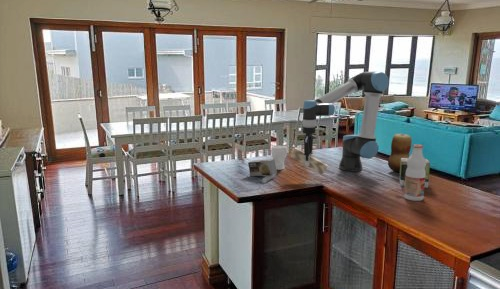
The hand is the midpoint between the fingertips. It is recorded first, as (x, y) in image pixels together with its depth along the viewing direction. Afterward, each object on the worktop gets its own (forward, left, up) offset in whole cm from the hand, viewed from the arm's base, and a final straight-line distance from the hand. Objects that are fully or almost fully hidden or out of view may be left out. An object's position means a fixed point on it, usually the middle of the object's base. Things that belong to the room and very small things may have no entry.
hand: (307, 165), depth 228 cm
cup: (+25, -20, -10) cm, 33 cm away
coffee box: (+20, +5, -2) cm, 21 cm away
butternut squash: (-50, -41, -10) cm, 66 cm away
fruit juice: (-59, +12, -10) cm, 61 cm away
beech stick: (+1, 0, 0) cm, 1 cm away
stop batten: (+22, +6, -9) cm, 25 cm away
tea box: (-59, -14, -10) cm, 62 cm away
